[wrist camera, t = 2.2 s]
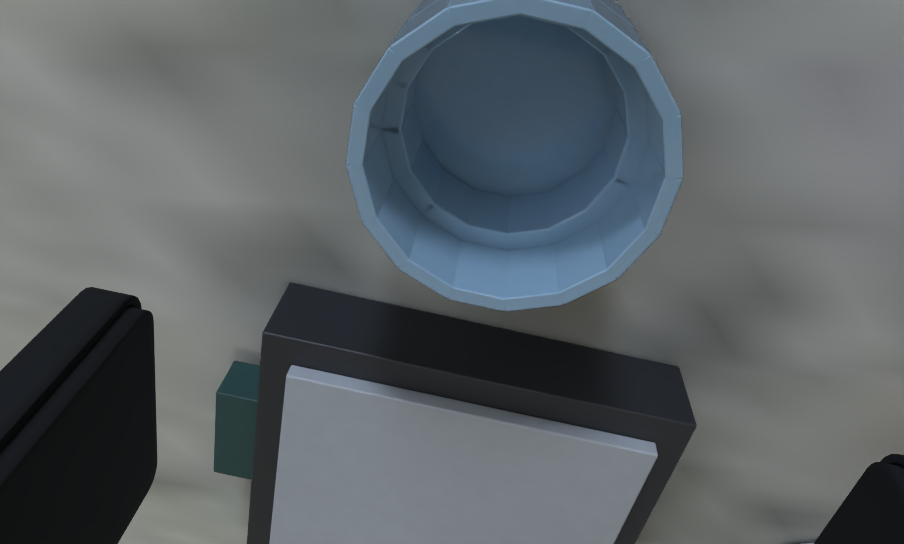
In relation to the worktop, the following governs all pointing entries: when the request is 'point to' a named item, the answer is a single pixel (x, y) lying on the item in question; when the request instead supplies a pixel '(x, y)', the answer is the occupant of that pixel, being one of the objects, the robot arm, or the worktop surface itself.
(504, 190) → the bowl
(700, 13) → the worktop surface
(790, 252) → the worktop surface
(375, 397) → the scale
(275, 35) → the worktop surface
